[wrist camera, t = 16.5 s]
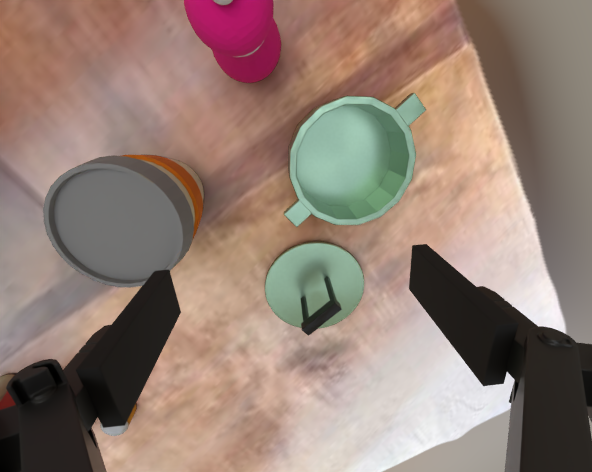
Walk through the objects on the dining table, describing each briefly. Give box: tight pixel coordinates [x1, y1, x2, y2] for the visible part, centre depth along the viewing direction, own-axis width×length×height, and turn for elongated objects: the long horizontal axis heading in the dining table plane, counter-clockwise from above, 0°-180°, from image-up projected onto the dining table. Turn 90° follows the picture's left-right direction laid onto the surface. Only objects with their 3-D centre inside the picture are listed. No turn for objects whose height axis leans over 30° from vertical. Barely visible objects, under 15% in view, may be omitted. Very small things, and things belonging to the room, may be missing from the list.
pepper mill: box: [184, 0, 281, 83], centre depth 26 cm, size 7×7×20 cm
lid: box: [265, 242, 364, 335], centre depth 43 cm, size 16×16×9 cm
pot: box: [284, 93, 426, 227], centre depth 37 cm, size 15×20×6 cm
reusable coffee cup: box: [43, 155, 204, 287], centre depth 34 cm, size 13×13×15 cm
